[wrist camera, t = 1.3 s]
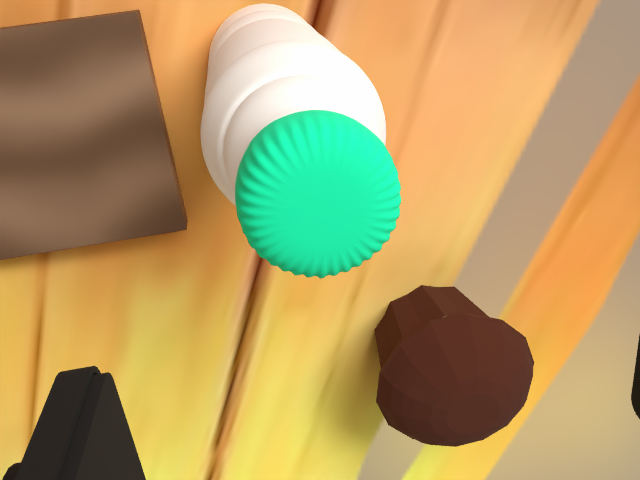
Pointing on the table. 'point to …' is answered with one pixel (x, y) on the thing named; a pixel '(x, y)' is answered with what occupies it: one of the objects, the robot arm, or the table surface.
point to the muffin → (449, 368)
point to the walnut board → (82, 137)
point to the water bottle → (297, 143)
